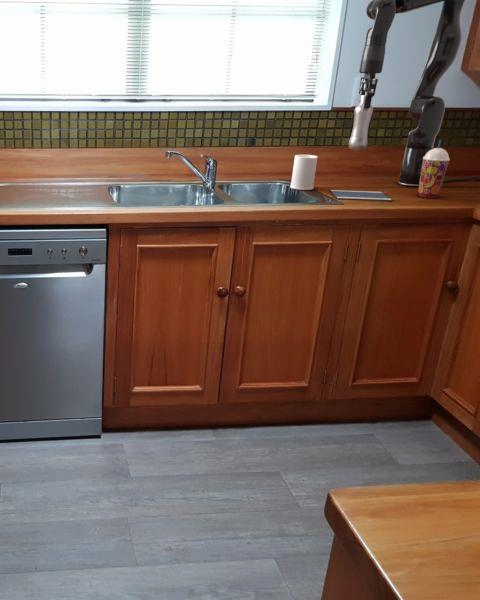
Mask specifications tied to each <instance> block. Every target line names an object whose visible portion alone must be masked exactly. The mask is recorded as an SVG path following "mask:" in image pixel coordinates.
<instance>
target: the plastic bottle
mask: <svg viewBox="0 0 480 600" xmlns="http://www.w3.org/2000/svg"><path fill="white" fill-rule="evenodd" d="M360 100H361V101H360ZM364 100H365V95H361V96H359V101H360V103H359V102H358V103H357V105H355V108H354V109H353V110H354V111H353V112H354V113H353V127H352V131H351V134H350V137H349V141H348V148H349V150H352V151H356V152H357V151H358V152H359V151H364V150H366V148H367V146H368V133H369V126H370V122H371V119H372V115H373V113H374V108H373V105H372V104H371V105H370V108H369V109H365V108H363V106H364Z"/></svg>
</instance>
